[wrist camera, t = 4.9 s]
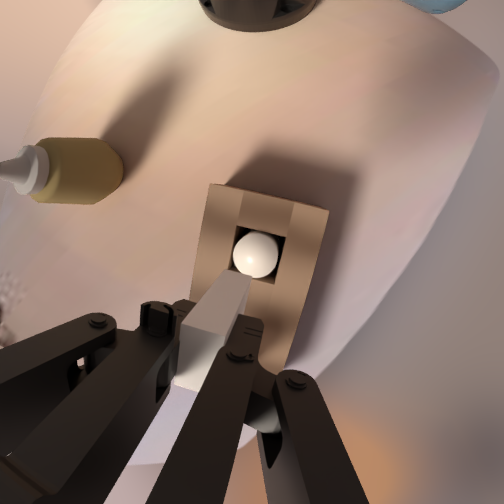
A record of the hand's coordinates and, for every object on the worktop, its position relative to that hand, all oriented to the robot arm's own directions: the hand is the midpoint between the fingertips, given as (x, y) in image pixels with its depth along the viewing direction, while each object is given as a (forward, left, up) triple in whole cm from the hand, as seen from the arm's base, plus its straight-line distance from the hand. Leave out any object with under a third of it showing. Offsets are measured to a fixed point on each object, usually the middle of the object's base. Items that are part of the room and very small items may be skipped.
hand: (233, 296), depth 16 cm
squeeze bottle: (-4, -22, -18) cm, 28 cm away
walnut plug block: (+6, 0, -18) cm, 18 cm away
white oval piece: (0, 0, -17) cm, 17 cm away
